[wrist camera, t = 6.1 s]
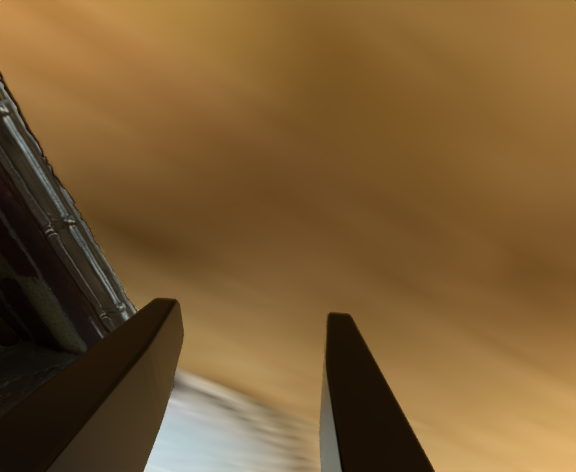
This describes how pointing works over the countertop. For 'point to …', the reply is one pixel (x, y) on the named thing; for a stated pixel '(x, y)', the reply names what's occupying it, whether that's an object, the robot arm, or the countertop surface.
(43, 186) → the dark piece
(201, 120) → the countertop surface
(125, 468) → the robot arm
